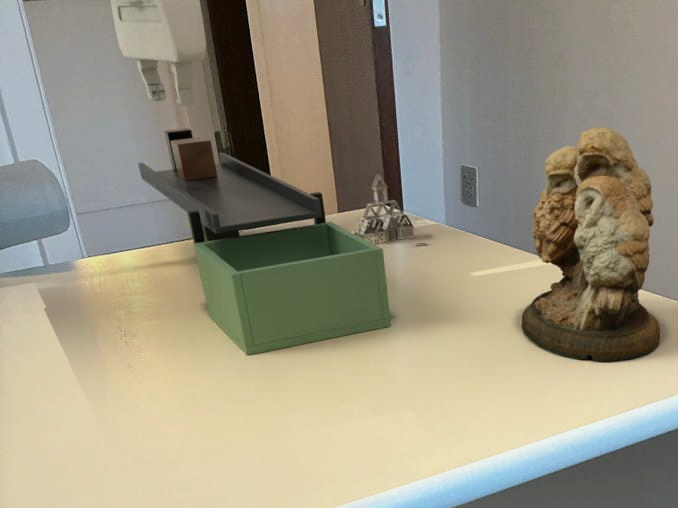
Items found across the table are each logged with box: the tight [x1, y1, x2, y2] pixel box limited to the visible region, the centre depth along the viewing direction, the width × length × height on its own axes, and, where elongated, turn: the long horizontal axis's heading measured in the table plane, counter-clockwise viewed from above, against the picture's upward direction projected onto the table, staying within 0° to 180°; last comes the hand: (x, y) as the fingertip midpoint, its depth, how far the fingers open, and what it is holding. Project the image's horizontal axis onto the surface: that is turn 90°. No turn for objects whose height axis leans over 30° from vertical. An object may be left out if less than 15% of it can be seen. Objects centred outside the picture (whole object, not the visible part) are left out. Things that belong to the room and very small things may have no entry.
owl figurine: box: [521, 126, 661, 362], centre depth 85 cm, size 18×12×17 cm, turn 21°
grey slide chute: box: [137, 127, 322, 234], centre depth 108 cm, size 11×38×5 cm, turn 27°
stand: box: [186, 191, 327, 309], centre depth 108 cm, size 14×21×10 cm, turn 27°
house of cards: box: [352, 173, 429, 247], centre depth 120 cm, size 9×9×8 cm
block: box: [171, 136, 217, 181], centre depth 117 cm, size 4×4×4 cm
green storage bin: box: [193, 221, 392, 356], centre depth 95 cm, size 15×15×7 cm
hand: (171, 102), depth 118 cm, fingers open, 8 cm apart
